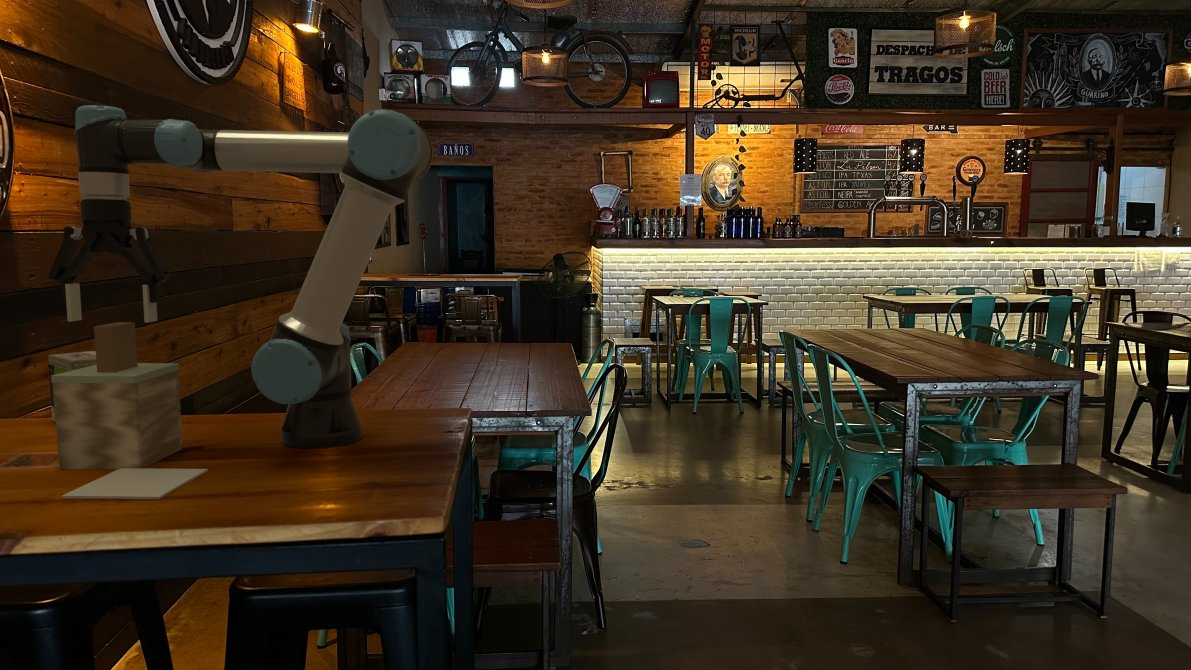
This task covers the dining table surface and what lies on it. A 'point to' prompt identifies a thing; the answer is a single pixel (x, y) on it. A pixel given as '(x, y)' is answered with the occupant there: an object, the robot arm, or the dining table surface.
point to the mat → (136, 484)
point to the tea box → (68, 367)
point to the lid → (115, 359)
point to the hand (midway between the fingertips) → (112, 321)
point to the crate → (117, 423)
